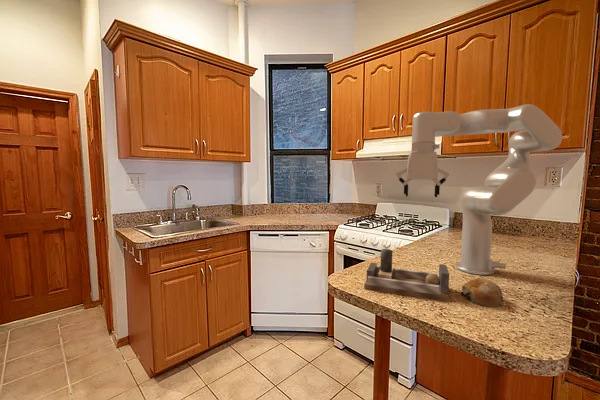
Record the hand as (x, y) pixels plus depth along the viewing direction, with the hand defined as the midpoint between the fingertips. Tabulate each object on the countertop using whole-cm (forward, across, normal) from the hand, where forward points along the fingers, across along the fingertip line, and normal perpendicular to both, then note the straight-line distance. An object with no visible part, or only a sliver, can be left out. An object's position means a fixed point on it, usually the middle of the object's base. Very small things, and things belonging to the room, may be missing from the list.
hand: (421, 196), depth 102 cm
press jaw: (+26, +10, +16) cm, 32 cm away
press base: (+28, +4, +16) cm, 33 cm away
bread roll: (+29, -17, +17) cm, 37 cm away
